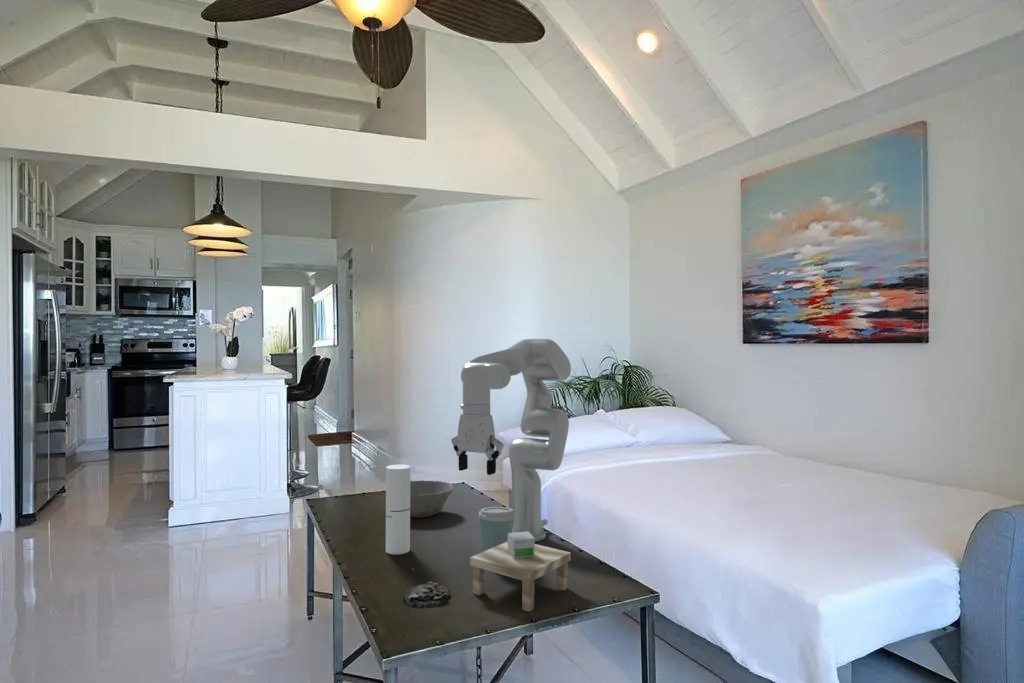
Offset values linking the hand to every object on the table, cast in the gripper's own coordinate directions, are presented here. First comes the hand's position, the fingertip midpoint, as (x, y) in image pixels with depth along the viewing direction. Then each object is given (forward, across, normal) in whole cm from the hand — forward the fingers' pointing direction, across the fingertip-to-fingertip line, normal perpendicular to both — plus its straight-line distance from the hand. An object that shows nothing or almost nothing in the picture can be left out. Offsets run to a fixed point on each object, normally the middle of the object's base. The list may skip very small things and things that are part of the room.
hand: (477, 471), depth 166 cm
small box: (+18, +18, -6) cm, 26 cm away
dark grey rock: (+27, +1, -22) cm, 35 cm away
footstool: (+26, +18, -6) cm, 33 cm away
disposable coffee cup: (+27, +1, +8) cm, 28 cm away
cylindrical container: (+27, -29, -2) cm, 39 cm away
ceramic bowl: (+28, -49, +31) cm, 65 cm away
